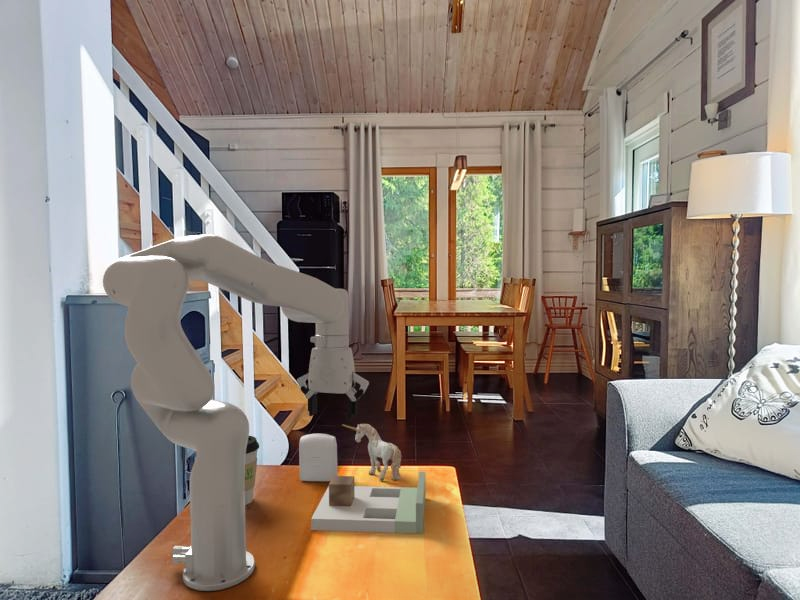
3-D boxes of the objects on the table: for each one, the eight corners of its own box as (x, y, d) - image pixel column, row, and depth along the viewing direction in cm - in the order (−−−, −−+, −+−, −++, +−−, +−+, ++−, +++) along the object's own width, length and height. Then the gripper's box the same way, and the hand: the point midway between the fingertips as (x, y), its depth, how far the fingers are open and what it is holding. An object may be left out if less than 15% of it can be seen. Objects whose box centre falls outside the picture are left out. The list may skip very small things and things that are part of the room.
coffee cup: (209, 507, 125) (207, 444, 124) (234, 491, 134) (233, 433, 133) (244, 513, 121) (243, 449, 121) (268, 496, 131) (267, 436, 130)
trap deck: (311, 530, 113) (311, 500, 113) (329, 495, 131) (328, 469, 131) (423, 533, 111) (422, 503, 111) (425, 497, 129) (425, 471, 129)
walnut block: (329, 505, 119) (328, 484, 119) (333, 496, 124) (333, 475, 124) (350, 506, 119) (350, 484, 119) (354, 497, 124) (354, 476, 124)
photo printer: (297, 482, 140) (296, 436, 139) (302, 476, 144) (301, 431, 143) (335, 483, 139) (335, 437, 138) (339, 477, 143) (338, 432, 142)
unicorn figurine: (358, 464, 153) (358, 418, 152) (414, 478, 141) (414, 429, 141) (342, 471, 147) (341, 424, 146) (398, 487, 136) (398, 436, 135)
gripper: (290, 342, 119) (291, 417, 120) (362, 345, 115) (363, 422, 116) (304, 339, 127) (304, 409, 127) (373, 341, 122) (373, 414, 123)
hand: (332, 416), depth 122 cm, fingers open, 9 cm apart
